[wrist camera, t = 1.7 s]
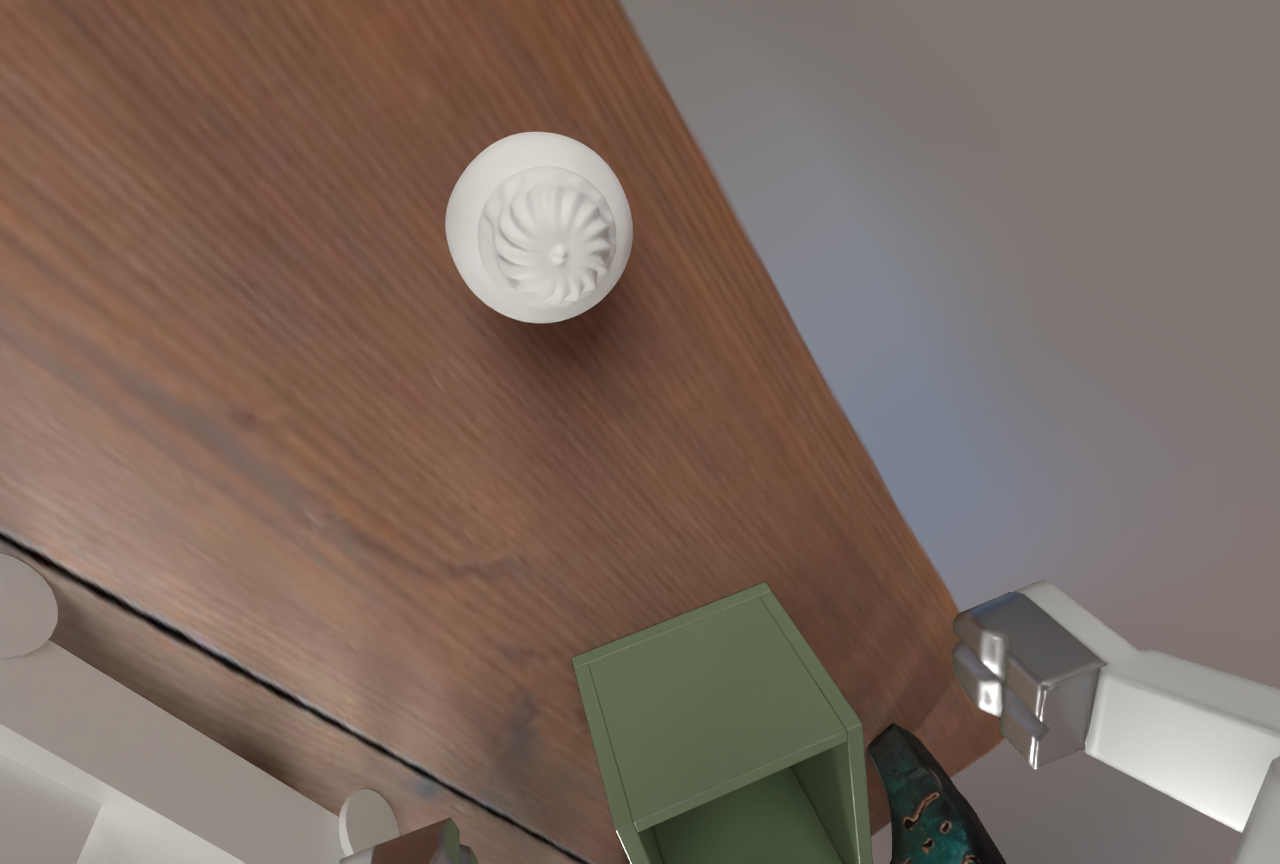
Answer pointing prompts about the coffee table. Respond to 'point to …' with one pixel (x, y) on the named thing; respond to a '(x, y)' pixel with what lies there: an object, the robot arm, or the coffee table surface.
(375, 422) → the coffee table surface
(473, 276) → the muffin
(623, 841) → the chest
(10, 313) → the coffee table surface
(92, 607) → the coffee table surface
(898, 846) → the ceramic cat
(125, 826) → the white elongated piece
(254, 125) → the coffee table surface
